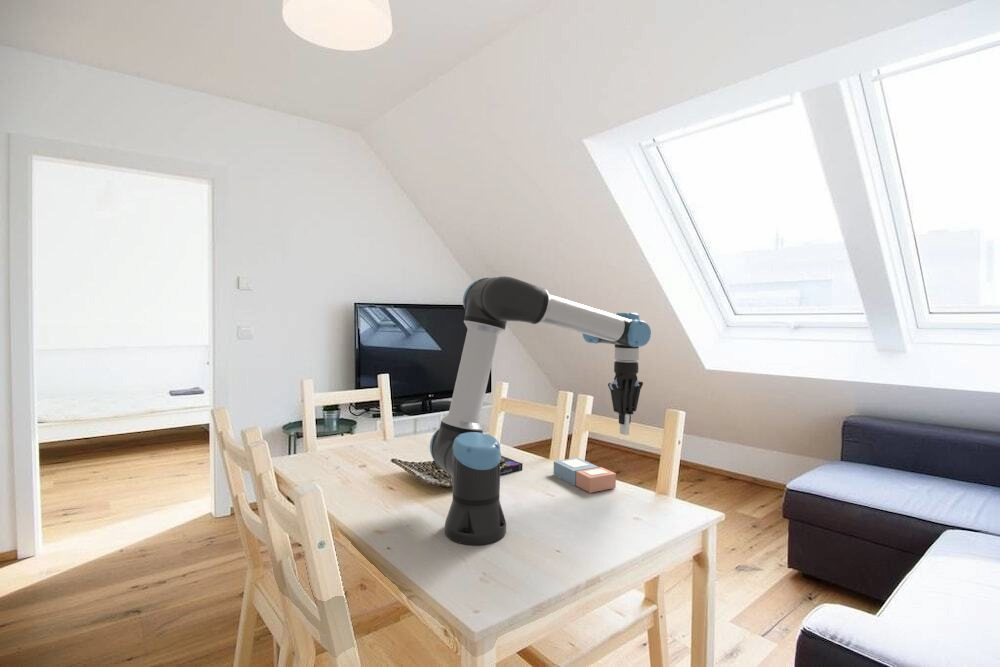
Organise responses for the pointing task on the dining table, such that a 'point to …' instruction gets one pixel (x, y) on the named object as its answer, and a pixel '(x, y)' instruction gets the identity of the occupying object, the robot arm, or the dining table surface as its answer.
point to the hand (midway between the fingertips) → (624, 433)
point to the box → (510, 466)
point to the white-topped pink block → (595, 479)
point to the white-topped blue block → (571, 468)
